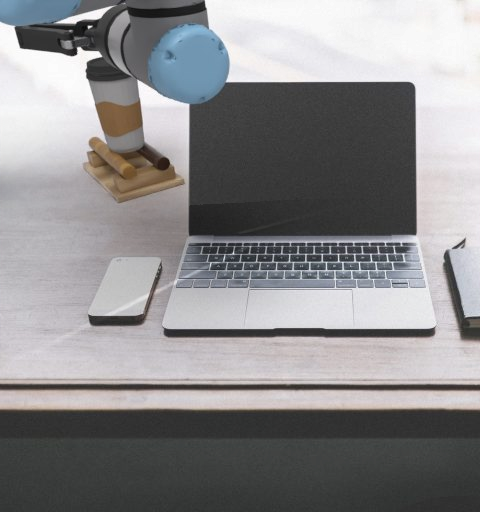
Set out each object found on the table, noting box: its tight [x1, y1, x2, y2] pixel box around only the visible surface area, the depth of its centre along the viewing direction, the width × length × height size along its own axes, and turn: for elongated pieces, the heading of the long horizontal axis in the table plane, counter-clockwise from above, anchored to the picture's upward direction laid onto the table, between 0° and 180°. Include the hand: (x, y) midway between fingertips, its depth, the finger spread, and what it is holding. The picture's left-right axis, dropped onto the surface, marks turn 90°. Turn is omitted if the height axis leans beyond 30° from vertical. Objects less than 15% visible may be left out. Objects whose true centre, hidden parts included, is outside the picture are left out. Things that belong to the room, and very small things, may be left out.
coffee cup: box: [84, 56, 146, 153], centre depth 106 cm, size 8×8×15 cm
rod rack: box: [82, 136, 185, 204], centre depth 112 cm, size 19×12×6 cm, turn 35°
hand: (81, 17), depth 85 cm, fingers open, 13 cm apart
